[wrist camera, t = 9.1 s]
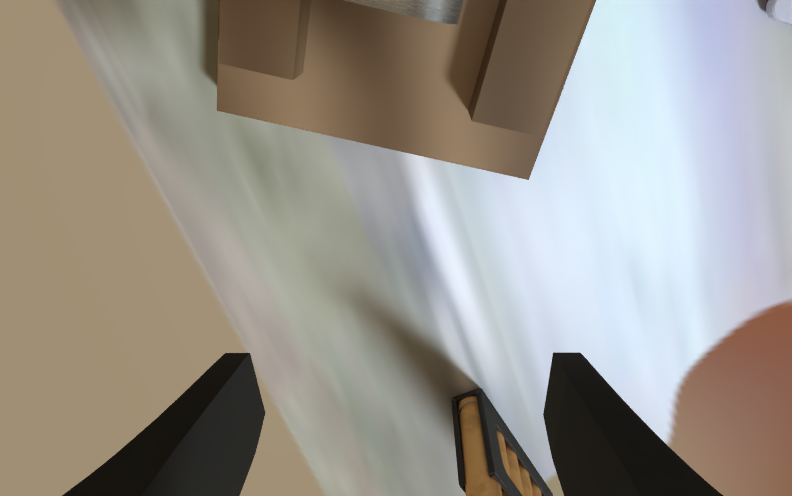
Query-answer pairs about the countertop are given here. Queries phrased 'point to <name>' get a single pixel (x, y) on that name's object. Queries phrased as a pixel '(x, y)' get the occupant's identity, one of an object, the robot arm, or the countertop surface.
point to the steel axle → (420, 8)
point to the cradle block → (404, 74)
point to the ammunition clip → (490, 452)
